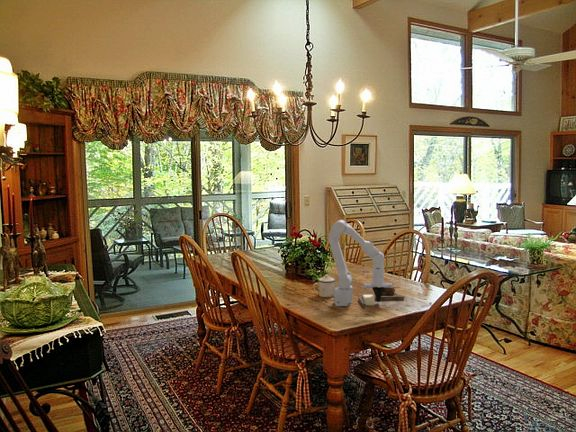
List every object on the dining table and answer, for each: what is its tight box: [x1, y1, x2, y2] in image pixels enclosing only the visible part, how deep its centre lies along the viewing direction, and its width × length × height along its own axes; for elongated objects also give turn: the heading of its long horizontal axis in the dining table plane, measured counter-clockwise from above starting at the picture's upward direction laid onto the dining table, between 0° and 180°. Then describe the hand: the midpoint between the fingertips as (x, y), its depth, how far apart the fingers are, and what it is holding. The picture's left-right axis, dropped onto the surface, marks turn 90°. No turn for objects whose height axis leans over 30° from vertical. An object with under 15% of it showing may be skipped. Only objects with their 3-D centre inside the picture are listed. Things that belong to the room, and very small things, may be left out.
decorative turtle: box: [381, 286, 396, 296], centre depth 264 cm, size 10×15×8 cm, turn 16°
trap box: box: [357, 295, 411, 309], centre depth 247 cm, size 24×13×4 cm, turn 93°
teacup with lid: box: [313, 274, 336, 298], centre depth 269 cm, size 12×9×12 cm
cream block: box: [362, 294, 376, 306], centre depth 247 cm, size 5×5×4 cm
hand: (377, 301), depth 247 cm, fingers closed
